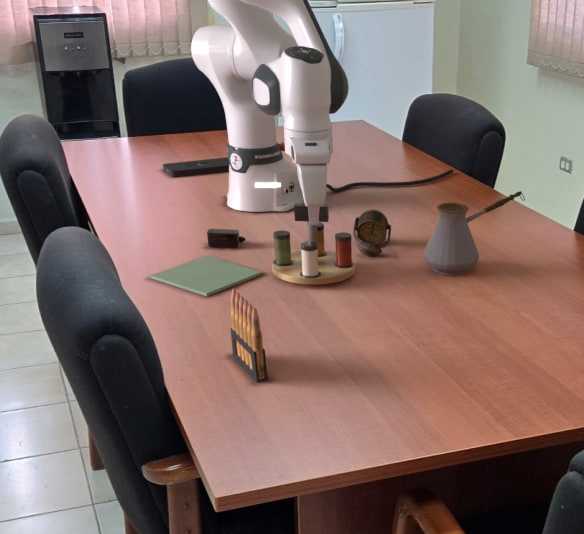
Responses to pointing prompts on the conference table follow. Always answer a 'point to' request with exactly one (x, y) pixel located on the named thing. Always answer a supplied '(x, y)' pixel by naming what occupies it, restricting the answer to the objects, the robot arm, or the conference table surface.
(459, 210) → the coffee pot
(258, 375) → the ammunition clip
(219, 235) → the black box with knob
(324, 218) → the spice carousel
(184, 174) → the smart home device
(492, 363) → the conference table surface
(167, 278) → the sage mat
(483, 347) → the conference table surface
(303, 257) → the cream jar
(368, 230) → the vintage desk clock
